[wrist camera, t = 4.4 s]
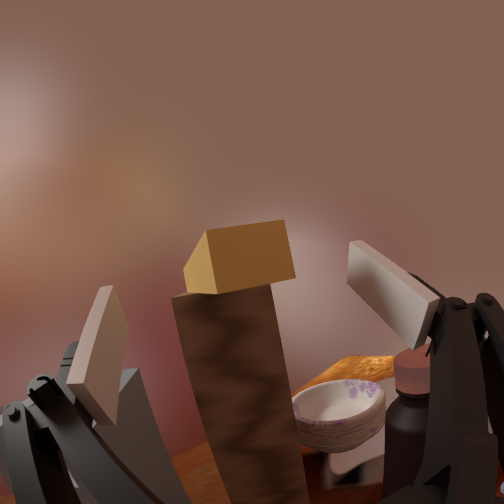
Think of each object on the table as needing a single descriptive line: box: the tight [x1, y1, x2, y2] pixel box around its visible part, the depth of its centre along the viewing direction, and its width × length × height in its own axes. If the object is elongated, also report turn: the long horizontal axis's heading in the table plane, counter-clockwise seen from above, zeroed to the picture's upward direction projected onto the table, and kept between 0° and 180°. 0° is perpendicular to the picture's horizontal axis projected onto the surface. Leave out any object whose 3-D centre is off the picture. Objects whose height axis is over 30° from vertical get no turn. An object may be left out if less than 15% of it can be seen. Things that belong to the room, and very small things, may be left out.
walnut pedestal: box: [171, 284, 310, 504], centre depth 28 cm, size 8×14×28 cm, turn 10°
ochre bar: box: [183, 220, 296, 294], centre depth 25 cm, size 4×24×3 cm, turn 16°
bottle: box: [382, 344, 430, 499], centre depth 16 cm, size 7×7×20 cm
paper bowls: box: [292, 379, 386, 453], centre depth 36 cm, size 15×15×8 cm
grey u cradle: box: [0, 368, 192, 504], centre depth 15 cm, size 9×16×22 cm, turn 10°
